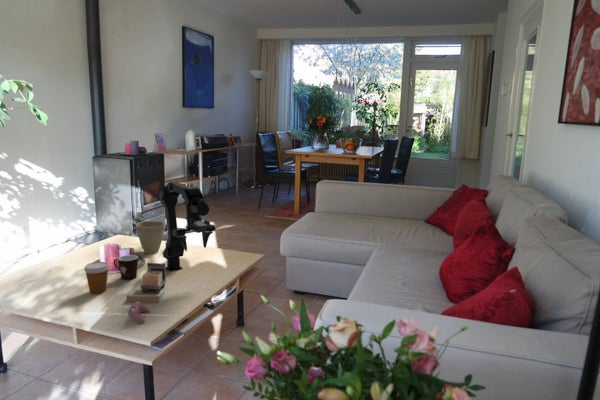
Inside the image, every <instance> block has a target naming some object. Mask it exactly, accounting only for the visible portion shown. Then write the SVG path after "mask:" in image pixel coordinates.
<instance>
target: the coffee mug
mask: <svg viewBox="0 0 600 400" xmlns="http://www.w3.org/2000/svg"><path fill="white" fill-rule="evenodd" d="M116 261H118V264H117V263H116ZM138 263H139V256H138V255H135V254H125V255H122V256H119V257H118V258H115V259H114V260H113V265H114V266H115V267H116V269H118V270H119V273H120V279H121V280H123V281H131V280H135V279H136V278H137V274H138Z"/></svg>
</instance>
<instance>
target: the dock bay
mask: <svg viewBox="0 0 600 400" xmlns="http://www.w3.org/2000/svg"><path fill="white" fill-rule="evenodd" d="M165 295H166V291H165V290H164V289H163V290H160V292H159V293H157V295H148V294H147V295H145V294H138V289H135V288H134V289H133V290H132V291H130V293H129V294H126V303H135V302H138V301H139V302H141V303H142V304H143V303H144V304H145V303H146V304H152V303H153V304H159V303H160V301H161V300H162V299H163V298H164V297H165Z"/></svg>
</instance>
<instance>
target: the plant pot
mask: <svg viewBox="0 0 600 400" xmlns="http://www.w3.org/2000/svg"><path fill="white" fill-rule="evenodd" d="M135 225H136V226H135V227H136V230H137V237H138V239H139V242H140V243H139V244H141V247H142V250H143V251H144V254H148V255H150V254H151V255H153V254H157V253H159V250H160V248H161V244H162V242H163V238H164V232H165V225H166V224H165V222H163V221H160V220H159V221H158V220H149V221H148V220H147V221H141V222H140V221H139V222H138V223H136V224H135Z"/></svg>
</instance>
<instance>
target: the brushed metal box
mask: <svg viewBox="0 0 600 400" xmlns="http://www.w3.org/2000/svg"><path fill="white" fill-rule="evenodd" d="M165 267H166V263H160V262H155V263H154V262H148V263H147V267H146V268H147V271H145V273H144V274H142V284H141V285H140V289H141V291H142V292H143V293H146V292H148V290H149V289H150V290H151V289H153V290H154V292H155V293H156V294H159V293H160V292H161V288H165V287H166V282H167V279H166V276H167V274H166V269H165Z"/></svg>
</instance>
